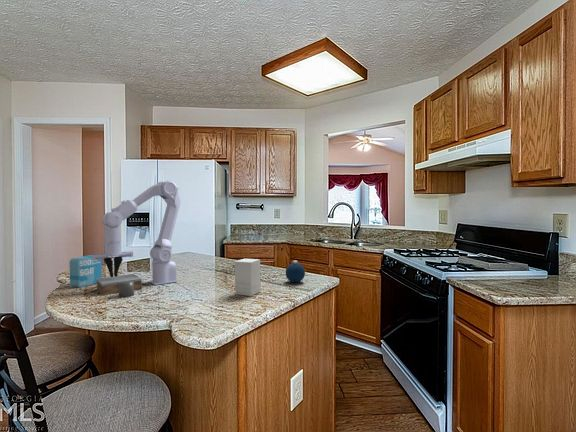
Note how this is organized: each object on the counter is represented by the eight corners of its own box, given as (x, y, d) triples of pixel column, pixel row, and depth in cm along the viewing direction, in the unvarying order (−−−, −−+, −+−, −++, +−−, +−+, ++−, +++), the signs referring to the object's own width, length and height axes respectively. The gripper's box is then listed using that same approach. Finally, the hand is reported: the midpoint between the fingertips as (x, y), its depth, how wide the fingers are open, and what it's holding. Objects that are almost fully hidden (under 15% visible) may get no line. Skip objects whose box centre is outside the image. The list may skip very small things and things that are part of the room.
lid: (133, 275, 144) (133, 273, 144) (141, 280, 135) (141, 278, 135) (96, 280, 136) (96, 278, 136) (102, 286, 126) (102, 284, 126)
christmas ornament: (294, 279, 151) (294, 257, 151) (309, 282, 146) (308, 259, 145) (281, 282, 145) (281, 259, 145) (295, 285, 140) (295, 261, 139)
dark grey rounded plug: (132, 293, 130) (131, 280, 130) (135, 295, 126) (135, 282, 125) (117, 295, 126) (117, 282, 126) (120, 298, 122) (120, 284, 122)
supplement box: (261, 291, 130) (261, 259, 130) (251, 296, 124) (251, 262, 123) (245, 289, 133) (244, 258, 133) (234, 294, 127) (234, 260, 126)
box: (133, 283, 144) (133, 276, 144) (141, 289, 135) (141, 280, 135) (96, 289, 136) (96, 280, 136) (102, 295, 126) (102, 286, 126)
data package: (78, 288, 138) (77, 259, 137) (69, 287, 139) (69, 258, 139) (102, 281, 149) (101, 254, 149) (94, 281, 150) (93, 254, 150)
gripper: (93, 244, 126) (94, 280, 126) (134, 241, 135) (135, 275, 135) (90, 243, 131) (91, 277, 132) (130, 240, 140) (131, 272, 141)
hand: (113, 276), depth 134 cm, fingers closed
